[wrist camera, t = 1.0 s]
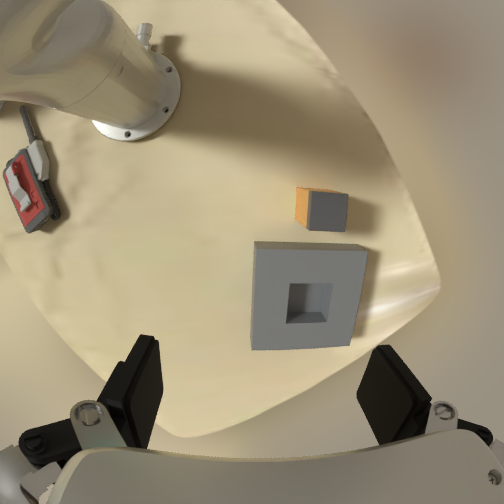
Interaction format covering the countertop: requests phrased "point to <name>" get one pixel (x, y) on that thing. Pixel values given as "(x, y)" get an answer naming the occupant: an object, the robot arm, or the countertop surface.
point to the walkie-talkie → (31, 182)
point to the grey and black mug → (1, 104)
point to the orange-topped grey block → (321, 209)
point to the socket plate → (305, 294)
